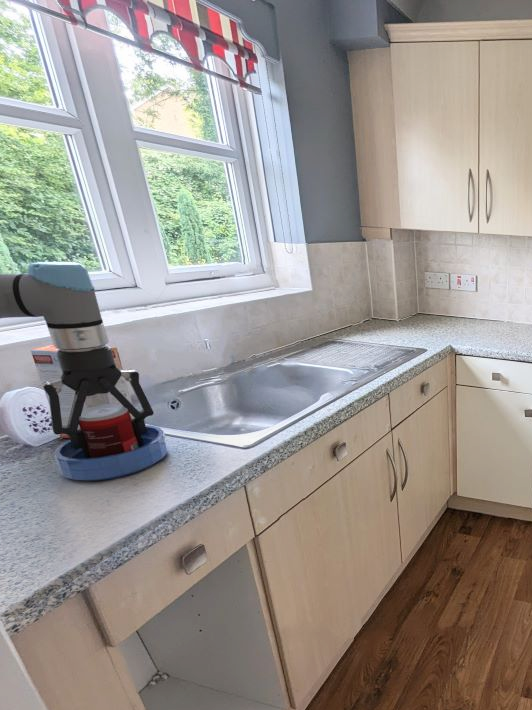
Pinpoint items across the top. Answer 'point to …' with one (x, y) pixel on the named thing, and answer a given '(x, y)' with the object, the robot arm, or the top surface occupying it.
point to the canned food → (108, 430)
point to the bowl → (111, 459)
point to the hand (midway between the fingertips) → (116, 454)
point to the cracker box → (52, 372)
